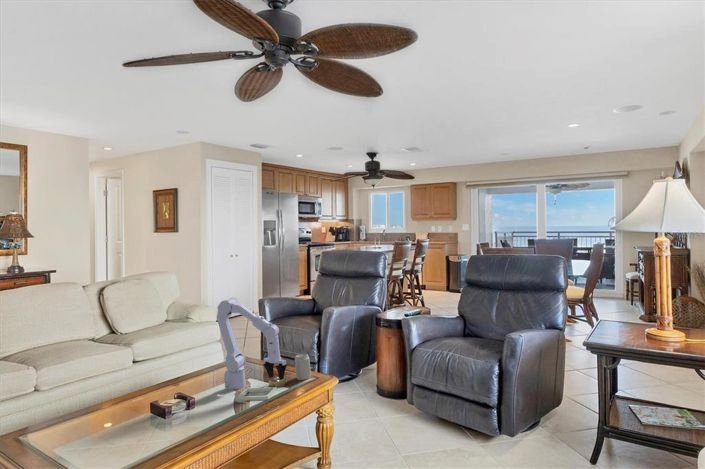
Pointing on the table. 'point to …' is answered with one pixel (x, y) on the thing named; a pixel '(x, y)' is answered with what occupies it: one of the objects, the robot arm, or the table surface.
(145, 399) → the table surface
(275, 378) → the square base with knob
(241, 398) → the tray
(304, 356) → the can
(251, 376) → the table surface
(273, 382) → the square frame with tab
